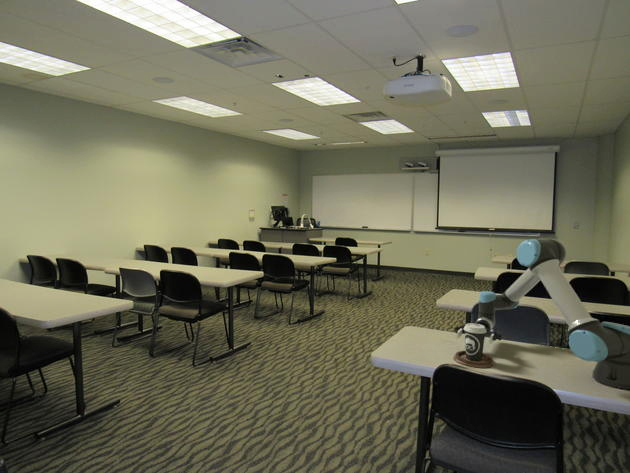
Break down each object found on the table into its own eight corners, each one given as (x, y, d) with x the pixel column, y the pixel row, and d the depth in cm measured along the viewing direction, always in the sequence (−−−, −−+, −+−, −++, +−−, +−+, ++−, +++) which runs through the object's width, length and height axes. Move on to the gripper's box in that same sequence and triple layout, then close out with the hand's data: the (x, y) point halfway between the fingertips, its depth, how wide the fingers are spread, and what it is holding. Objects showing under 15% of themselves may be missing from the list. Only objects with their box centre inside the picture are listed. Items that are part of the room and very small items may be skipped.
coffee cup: (487, 363, 174) (489, 329, 173) (464, 361, 176) (465, 327, 175) (482, 356, 183) (484, 323, 182) (460, 354, 185) (462, 322, 184)
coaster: (501, 368, 171) (501, 363, 171) (462, 367, 171) (462, 363, 170) (484, 354, 188) (484, 350, 188) (447, 353, 187) (448, 349, 187)
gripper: (510, 339, 190) (504, 351, 172) (456, 330, 203) (444, 340, 185) (511, 323, 189) (505, 334, 171) (456, 315, 203) (445, 324, 185)
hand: (473, 337), depth 178 cm, fingers open, 13 cm apart
